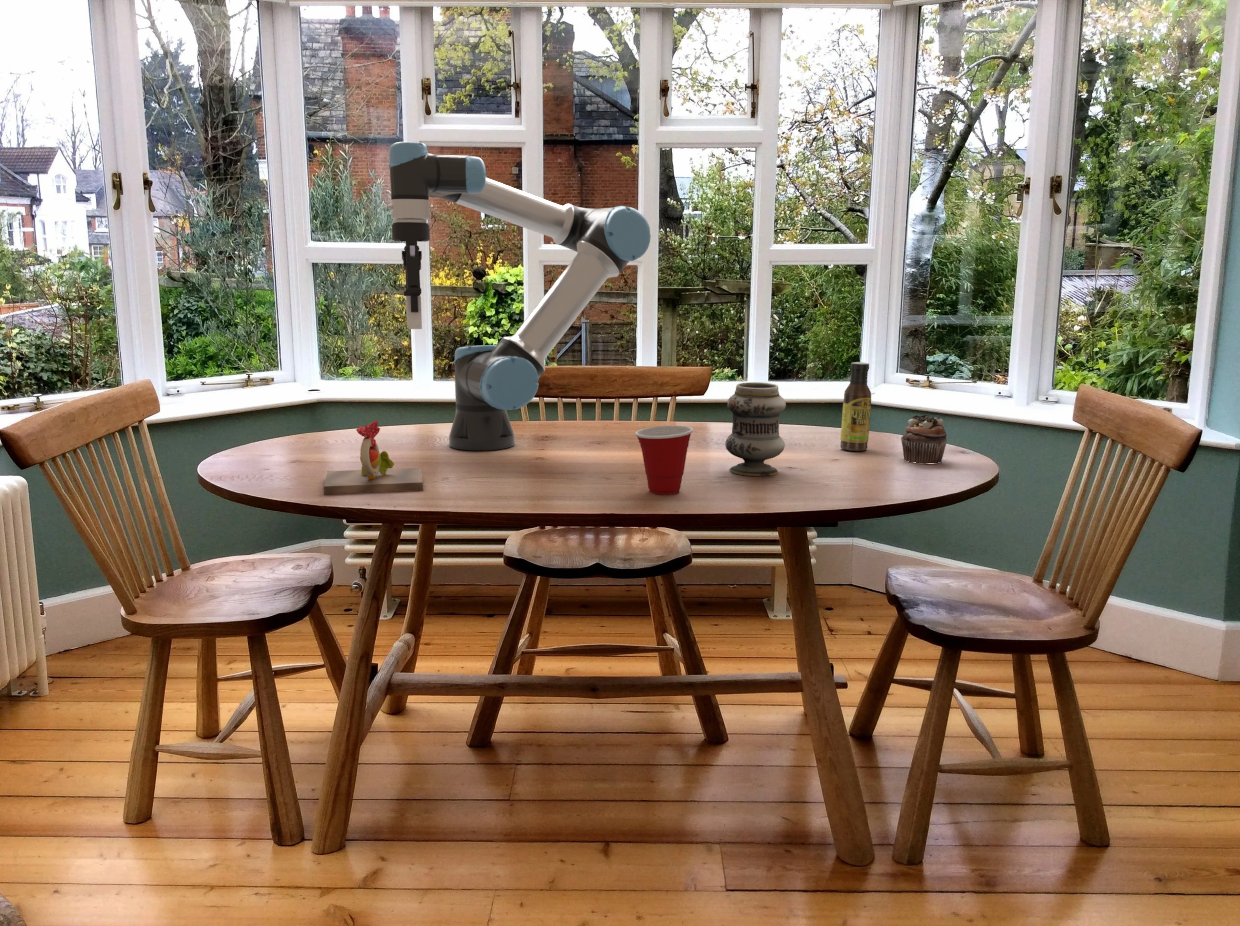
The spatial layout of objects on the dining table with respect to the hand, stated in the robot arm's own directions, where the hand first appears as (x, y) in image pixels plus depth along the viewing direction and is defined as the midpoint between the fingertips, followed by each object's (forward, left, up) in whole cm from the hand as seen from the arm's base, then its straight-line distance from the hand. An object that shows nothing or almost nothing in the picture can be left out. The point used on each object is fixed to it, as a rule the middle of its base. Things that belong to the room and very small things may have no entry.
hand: (414, 326), depth 216 cm
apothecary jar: (-67, +23, -29) cm, 77 cm away
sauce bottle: (-98, +4, -29) cm, 102 cm away
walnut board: (+9, +20, -29) cm, 36 cm away
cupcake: (-107, +19, -29) cm, 112 cm away
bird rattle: (+9, +20, -27) cm, 35 cm away
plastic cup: (-44, +37, -29) cm, 64 cm away
